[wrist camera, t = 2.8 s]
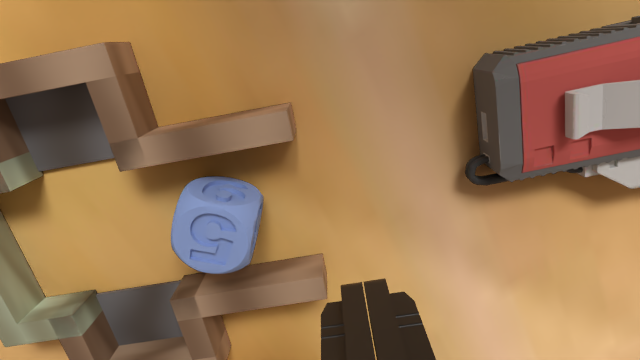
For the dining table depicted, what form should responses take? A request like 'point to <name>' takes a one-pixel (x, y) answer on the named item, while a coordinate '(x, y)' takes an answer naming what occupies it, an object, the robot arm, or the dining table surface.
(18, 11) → the dining table surface
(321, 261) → the trap channel
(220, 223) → the decorative dice
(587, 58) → the walkie-talkie
